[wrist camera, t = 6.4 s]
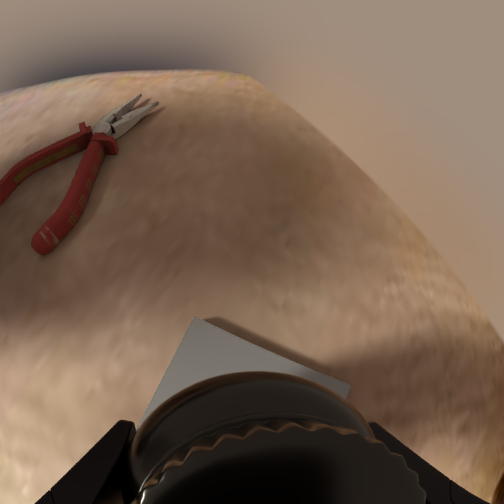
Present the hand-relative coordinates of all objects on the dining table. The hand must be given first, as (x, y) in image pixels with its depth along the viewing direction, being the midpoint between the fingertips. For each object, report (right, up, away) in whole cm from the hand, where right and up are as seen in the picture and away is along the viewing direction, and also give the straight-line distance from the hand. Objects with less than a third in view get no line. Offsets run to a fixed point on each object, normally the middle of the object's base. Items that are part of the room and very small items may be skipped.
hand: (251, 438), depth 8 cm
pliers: (-16, +13, +20) cm, 29 cm away
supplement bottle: (-1, -4, +6) cm, 7 cm away
